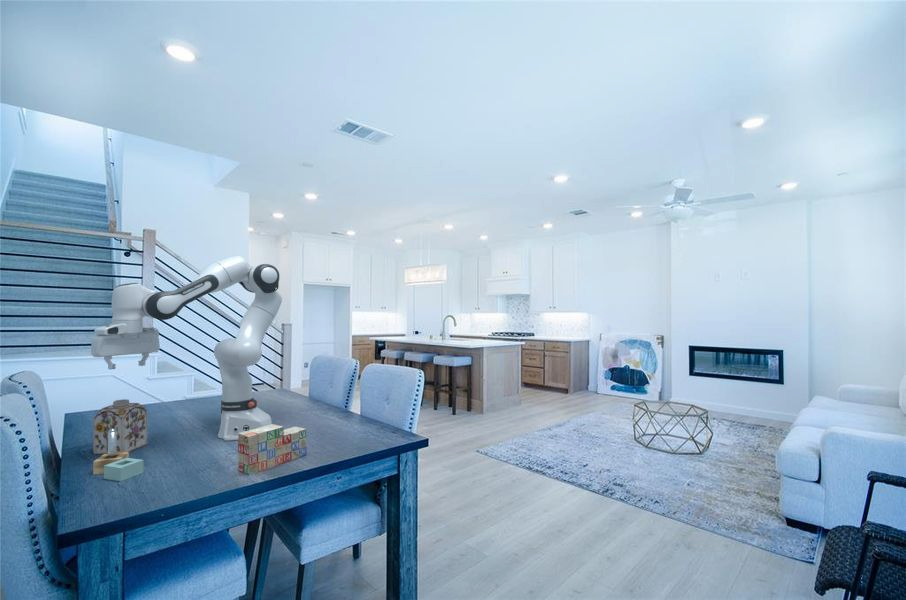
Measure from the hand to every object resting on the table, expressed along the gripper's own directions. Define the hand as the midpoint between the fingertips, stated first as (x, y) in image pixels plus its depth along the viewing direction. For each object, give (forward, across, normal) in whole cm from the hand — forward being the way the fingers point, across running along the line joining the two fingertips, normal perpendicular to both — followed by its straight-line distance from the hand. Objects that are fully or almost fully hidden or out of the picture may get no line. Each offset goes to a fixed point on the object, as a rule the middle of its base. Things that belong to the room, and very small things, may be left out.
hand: (127, 367), depth 152 cm
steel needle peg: (+31, +9, +10) cm, 34 cm away
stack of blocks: (+32, -18, +53) cm, 64 cm away
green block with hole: (+31, +10, +20) cm, 38 cm away
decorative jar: (+31, -3, -10) cm, 33 cm away
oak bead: (+31, +9, +10) cm, 34 cm away
